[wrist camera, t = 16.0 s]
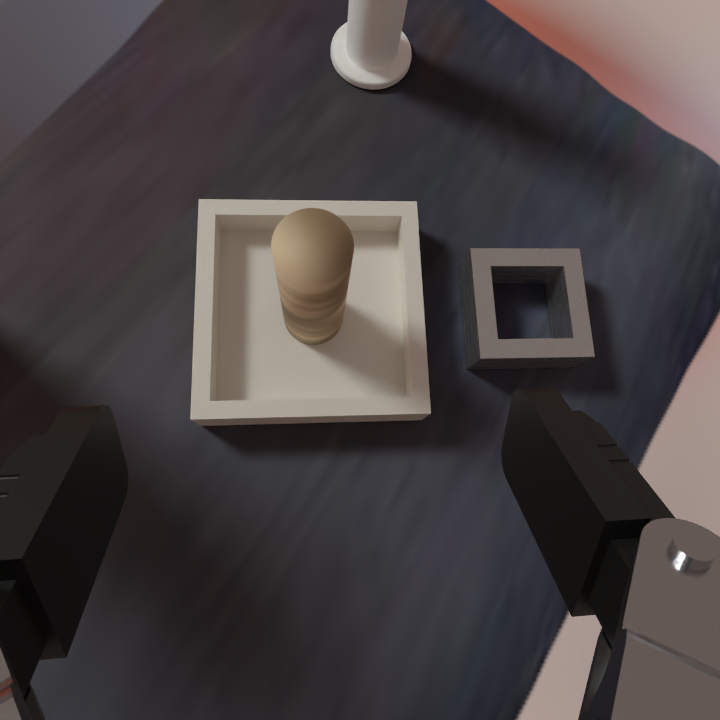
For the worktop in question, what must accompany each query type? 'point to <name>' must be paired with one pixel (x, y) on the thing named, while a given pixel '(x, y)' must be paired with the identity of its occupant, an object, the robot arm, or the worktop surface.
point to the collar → (563, 306)
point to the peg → (312, 272)
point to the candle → (372, 44)
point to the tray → (285, 353)
